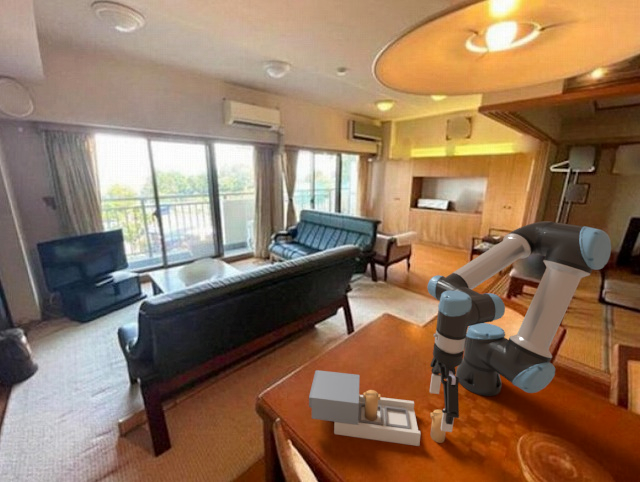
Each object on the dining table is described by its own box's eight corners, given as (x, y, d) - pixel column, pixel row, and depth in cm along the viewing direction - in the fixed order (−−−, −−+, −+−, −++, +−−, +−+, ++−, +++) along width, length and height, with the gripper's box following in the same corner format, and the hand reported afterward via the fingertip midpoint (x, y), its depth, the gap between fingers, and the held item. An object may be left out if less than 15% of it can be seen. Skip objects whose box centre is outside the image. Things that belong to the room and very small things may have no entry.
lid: (358, 394, 95) (359, 374, 93) (357, 424, 84) (358, 403, 82) (315, 388, 97) (315, 370, 96) (309, 418, 86) (308, 397, 84)
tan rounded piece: (378, 411, 91) (380, 390, 89) (379, 422, 87) (380, 400, 85) (362, 409, 92) (363, 388, 90) (362, 419, 88) (363, 398, 86)
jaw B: (444, 432, 87) (447, 410, 85) (448, 444, 83) (451, 422, 81) (427, 429, 87) (429, 408, 85) (429, 441, 84) (432, 419, 82)
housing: (412, 412, 94) (413, 401, 93) (419, 446, 82) (420, 433, 81) (337, 402, 97) (338, 392, 96) (334, 434, 86) (334, 422, 85)
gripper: (425, 322, 90) (418, 378, 95) (447, 375, 66) (436, 447, 71) (450, 324, 89) (442, 381, 94) (481, 379, 65) (468, 452, 70)
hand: (439, 410), depth 83 cm, fingers open, 13 cm apart
